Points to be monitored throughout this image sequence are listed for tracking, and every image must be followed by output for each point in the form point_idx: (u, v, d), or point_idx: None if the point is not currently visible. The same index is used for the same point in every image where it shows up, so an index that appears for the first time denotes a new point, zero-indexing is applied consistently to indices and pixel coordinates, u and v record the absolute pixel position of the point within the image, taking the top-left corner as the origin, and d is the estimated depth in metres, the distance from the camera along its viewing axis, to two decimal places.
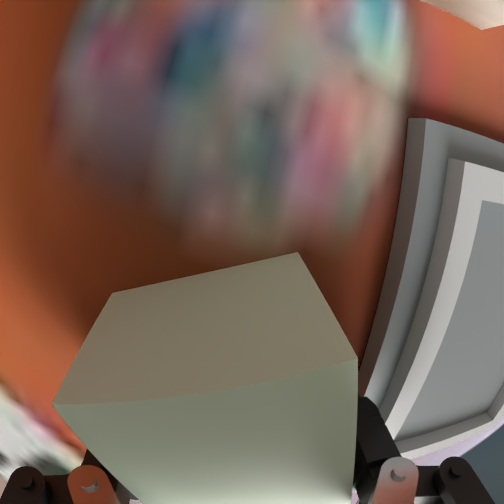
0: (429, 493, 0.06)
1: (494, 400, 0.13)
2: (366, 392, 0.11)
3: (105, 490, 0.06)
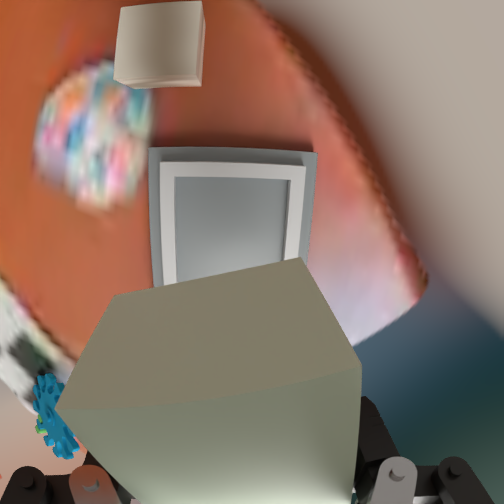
0: (428, 493, 0.06)
1: None
2: (153, 274, 0.24)
3: (107, 490, 0.06)
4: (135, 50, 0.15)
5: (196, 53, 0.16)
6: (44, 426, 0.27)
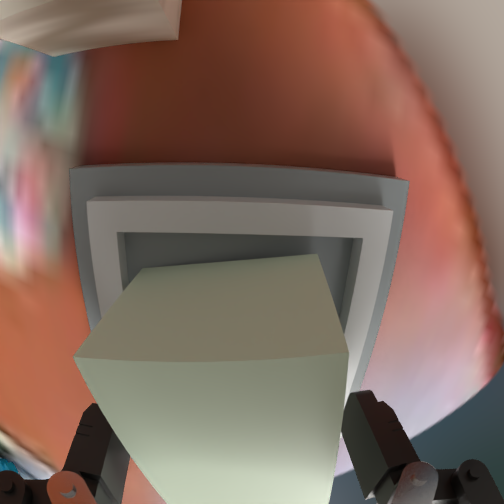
0: (448, 496, 0.06)
1: None
2: None
3: (83, 497, 0.05)
4: None
5: None
6: None
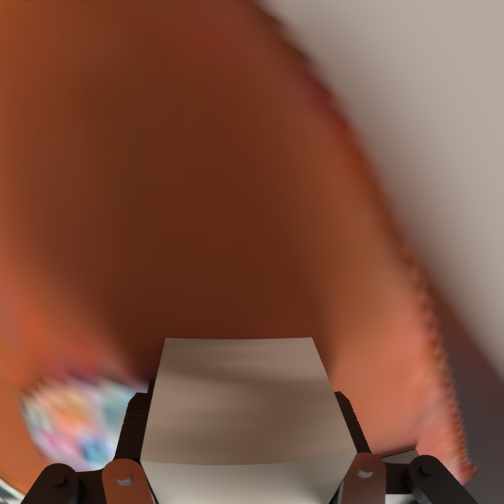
0: (398, 491, 0.06)
1: None
2: None
3: (142, 483, 0.06)
4: None
5: None
6: None
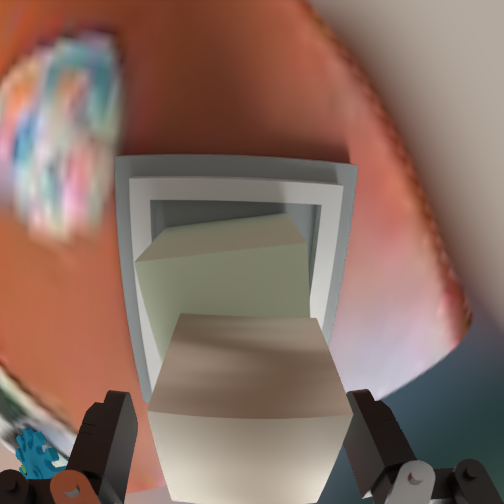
0: (445, 495, 0.06)
1: None
2: (130, 329, 0.17)
3: (86, 495, 0.05)
4: (206, 482, 0.08)
5: (322, 484, 0.08)
6: None
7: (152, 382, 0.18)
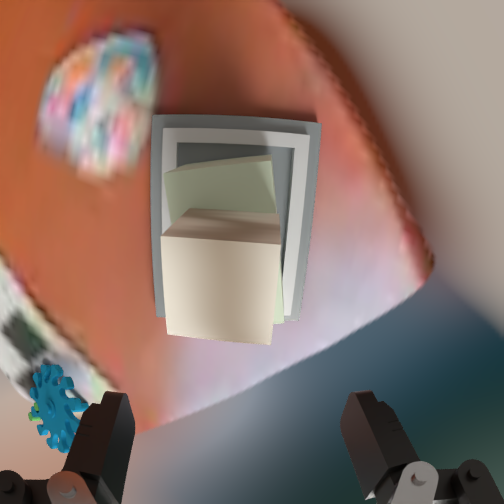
0: (448, 496, 0.06)
1: None
2: (152, 245, 0.24)
3: (82, 496, 0.05)
4: (191, 307, 0.14)
5: (272, 320, 0.14)
6: (40, 415, 0.26)
7: None
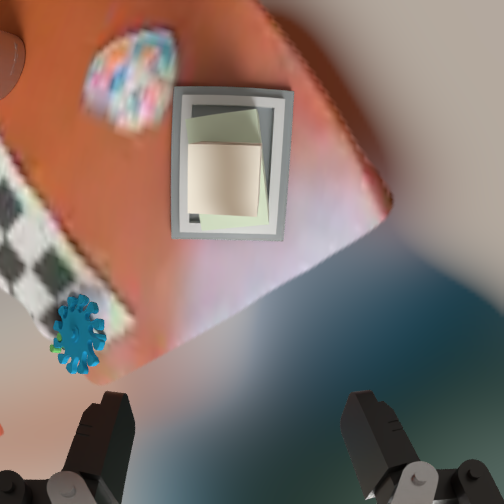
0: (448, 496, 0.06)
1: None
2: (171, 180, 0.32)
3: (83, 496, 0.05)
4: (205, 190, 0.22)
5: (257, 198, 0.22)
6: (62, 344, 0.34)
7: (180, 214, 0.32)
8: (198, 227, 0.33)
